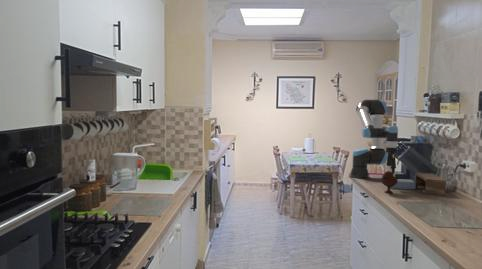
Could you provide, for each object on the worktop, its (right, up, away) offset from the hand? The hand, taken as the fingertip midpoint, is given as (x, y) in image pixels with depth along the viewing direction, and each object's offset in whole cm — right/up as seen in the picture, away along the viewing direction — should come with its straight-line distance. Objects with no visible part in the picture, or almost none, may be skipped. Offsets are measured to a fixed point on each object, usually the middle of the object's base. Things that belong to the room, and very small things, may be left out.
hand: (390, 176), depth 273 cm
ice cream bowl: (-9, -9, -19) cm, 23 cm away
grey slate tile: (+7, -8, 0) cm, 10 cm away
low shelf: (+22, -9, -9) cm, 26 cm away
